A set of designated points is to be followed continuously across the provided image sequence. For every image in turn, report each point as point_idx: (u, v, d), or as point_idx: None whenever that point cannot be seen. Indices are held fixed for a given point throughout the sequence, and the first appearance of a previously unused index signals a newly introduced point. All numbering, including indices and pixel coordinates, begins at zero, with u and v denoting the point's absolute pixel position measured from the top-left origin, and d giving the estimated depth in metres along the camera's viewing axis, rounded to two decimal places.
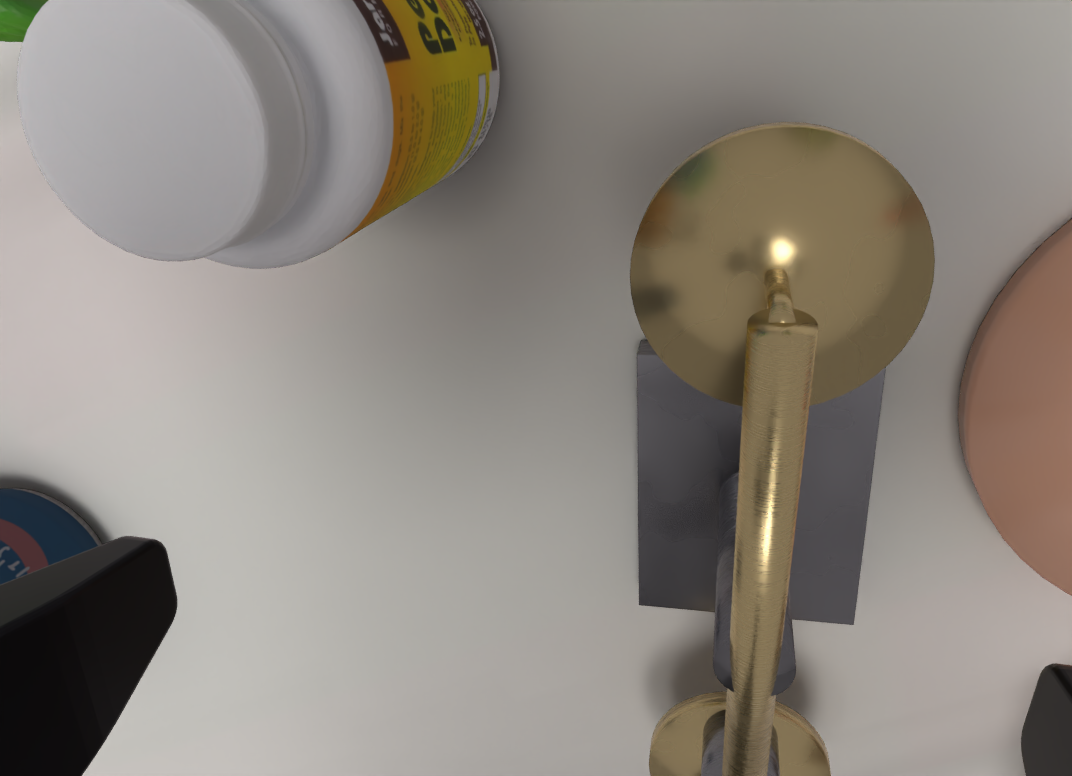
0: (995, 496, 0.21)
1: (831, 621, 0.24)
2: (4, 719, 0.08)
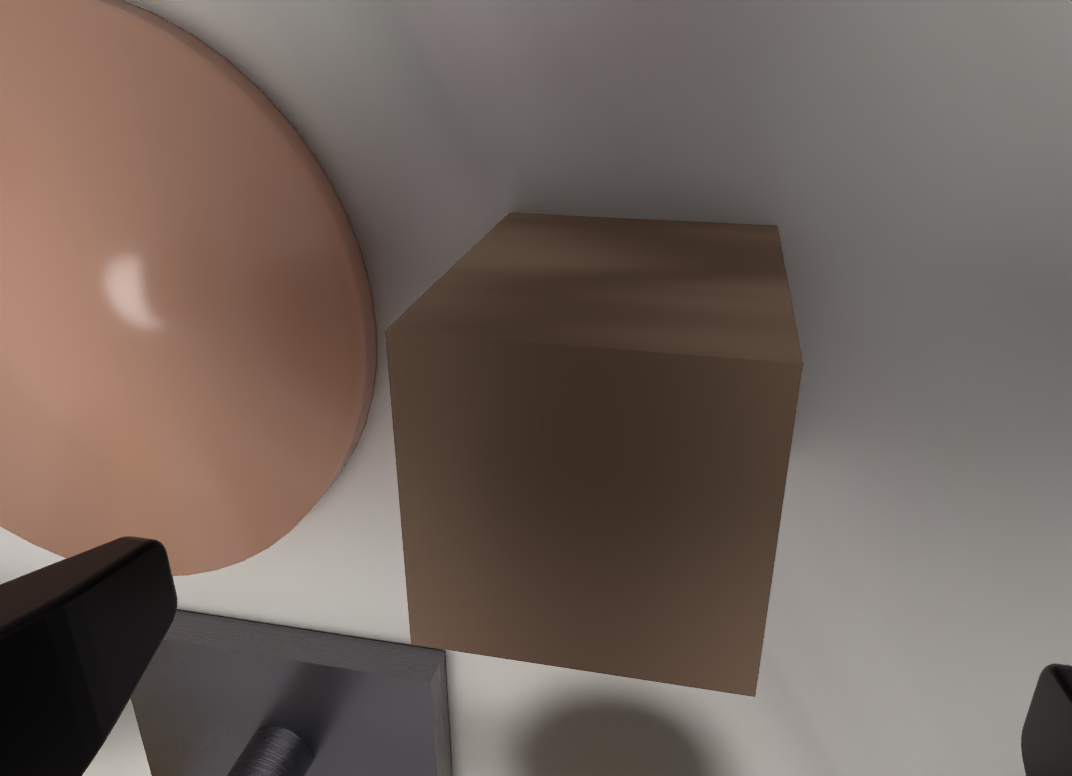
0: (218, 554, 0.18)
1: (433, 699, 0.19)
2: (4, 719, 0.08)
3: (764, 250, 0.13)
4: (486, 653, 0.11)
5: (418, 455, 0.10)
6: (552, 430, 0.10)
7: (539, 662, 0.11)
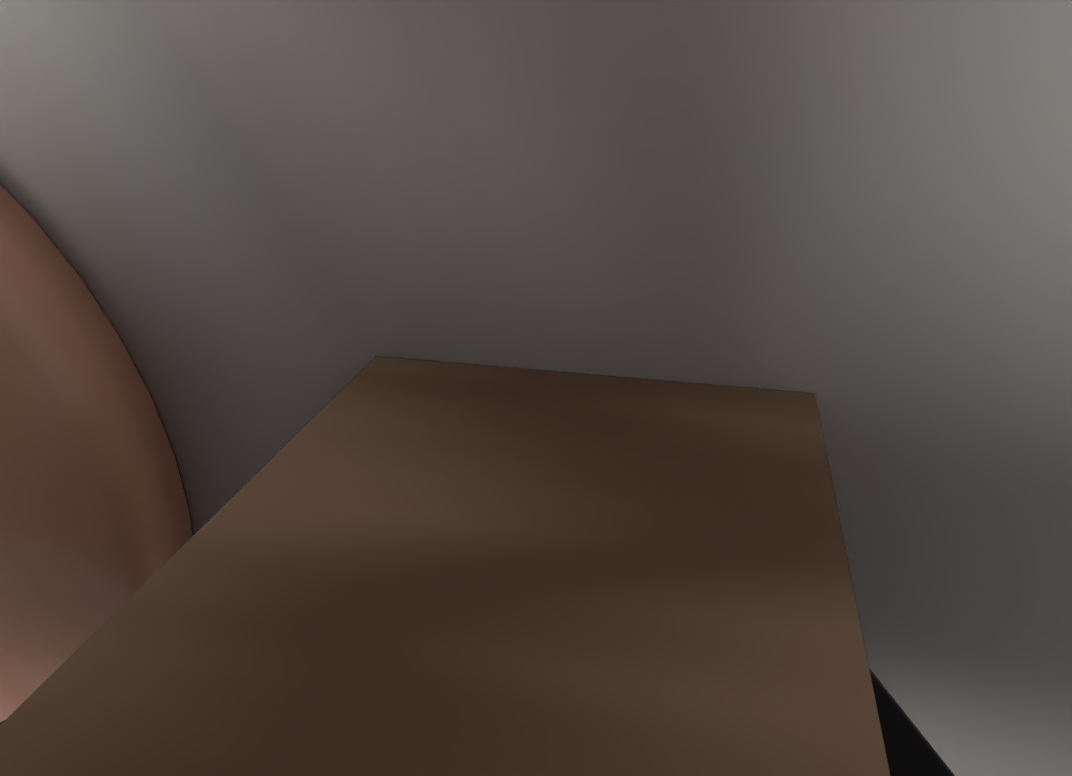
0: None
1: None
2: None
3: (798, 473, 0.07)
4: None
5: None
6: None
7: None
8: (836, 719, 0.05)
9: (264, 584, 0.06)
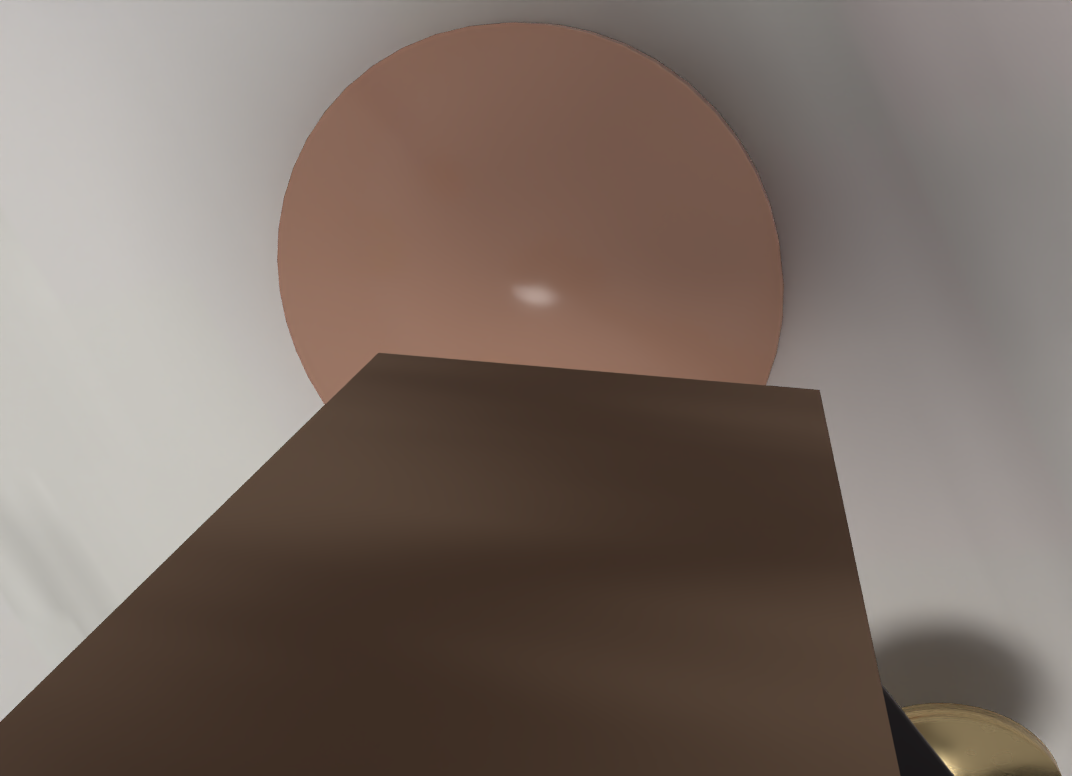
0: None
1: None
2: None
3: (803, 468, 0.07)
4: None
5: None
6: None
7: None
8: (844, 715, 0.04)
9: (267, 579, 0.06)
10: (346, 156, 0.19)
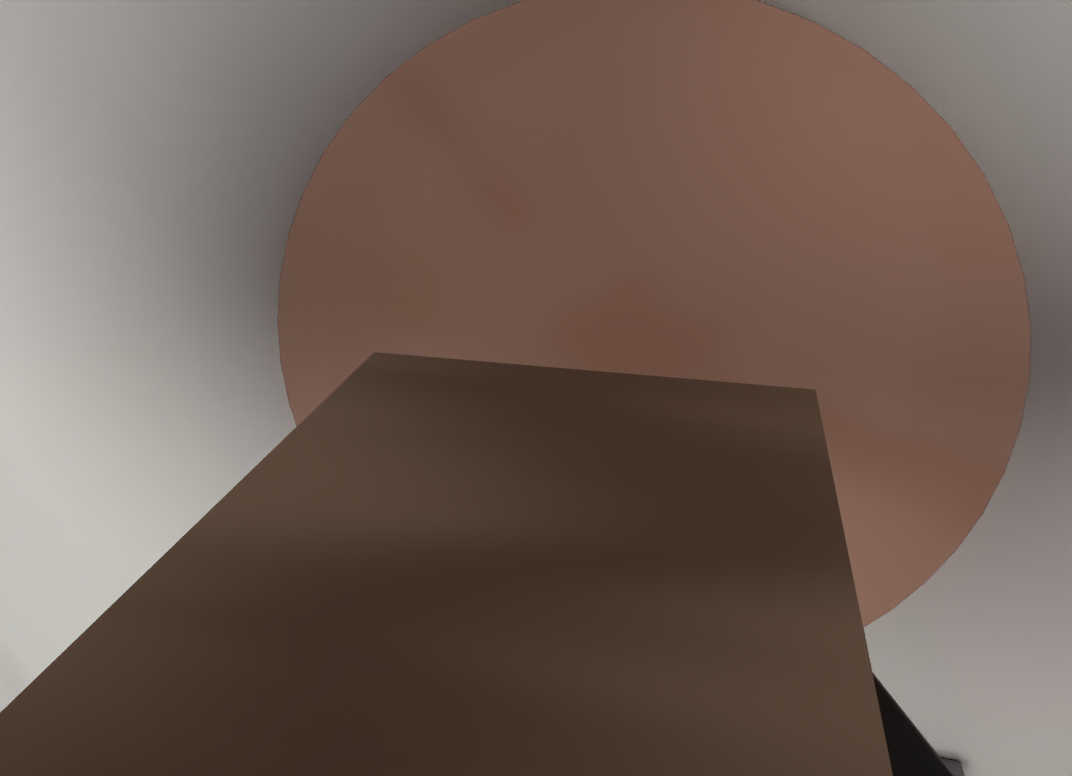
0: None
1: None
2: None
3: (798, 469, 0.07)
4: None
5: None
6: None
7: None
8: (837, 715, 0.04)
9: (260, 579, 0.06)
10: (382, 178, 0.13)
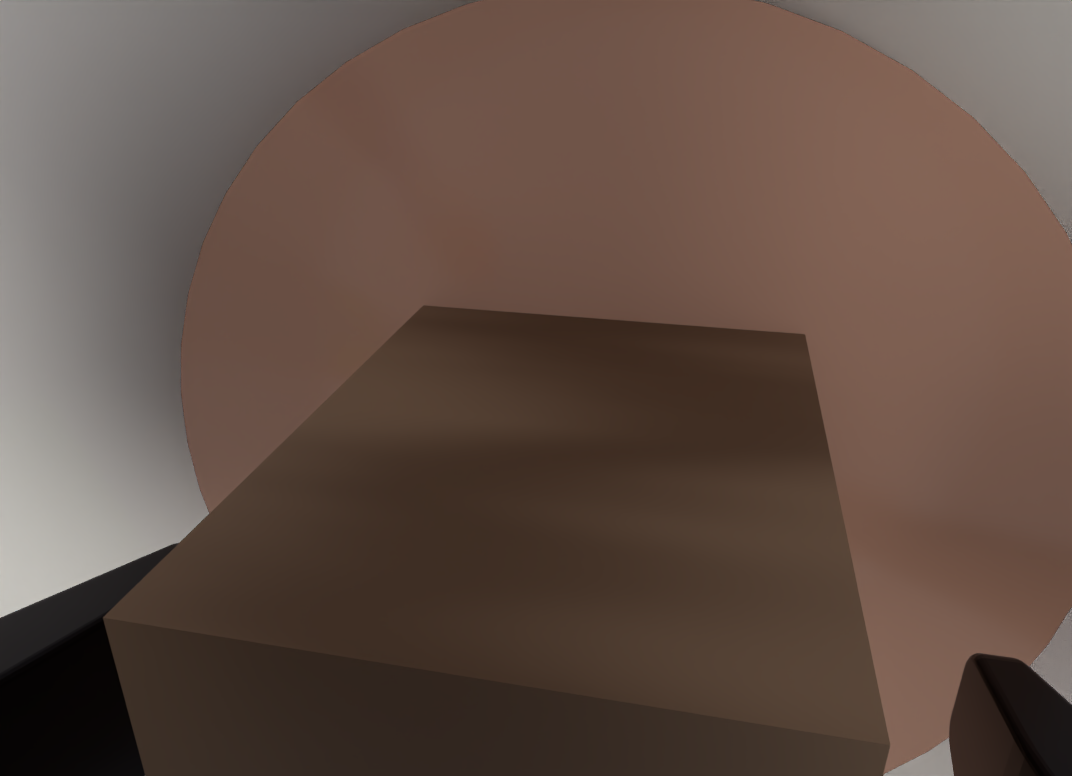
0: None
1: None
2: (66, 731, 0.07)
3: (790, 391, 0.08)
4: None
5: None
6: None
7: None
8: (816, 546, 0.06)
9: (358, 463, 0.07)
10: (298, 226, 0.10)
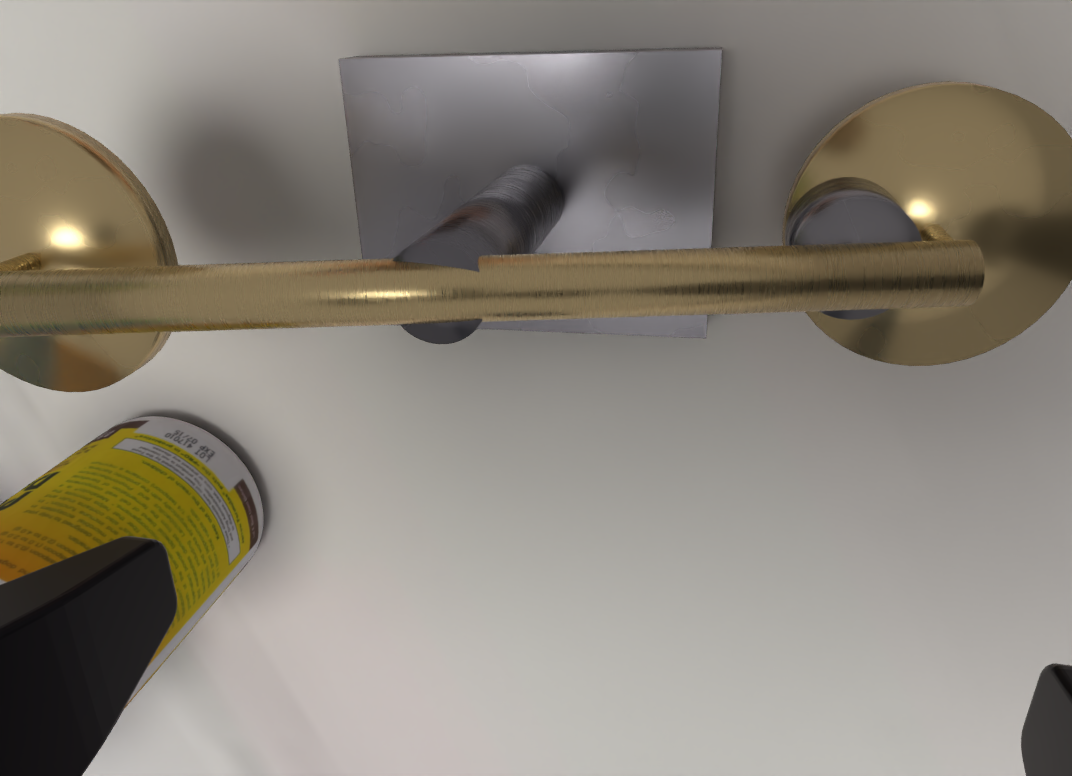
0: None
1: None
2: (4, 720, 0.08)
3: None
4: None
5: None
6: None
7: None
8: None
9: None
10: None
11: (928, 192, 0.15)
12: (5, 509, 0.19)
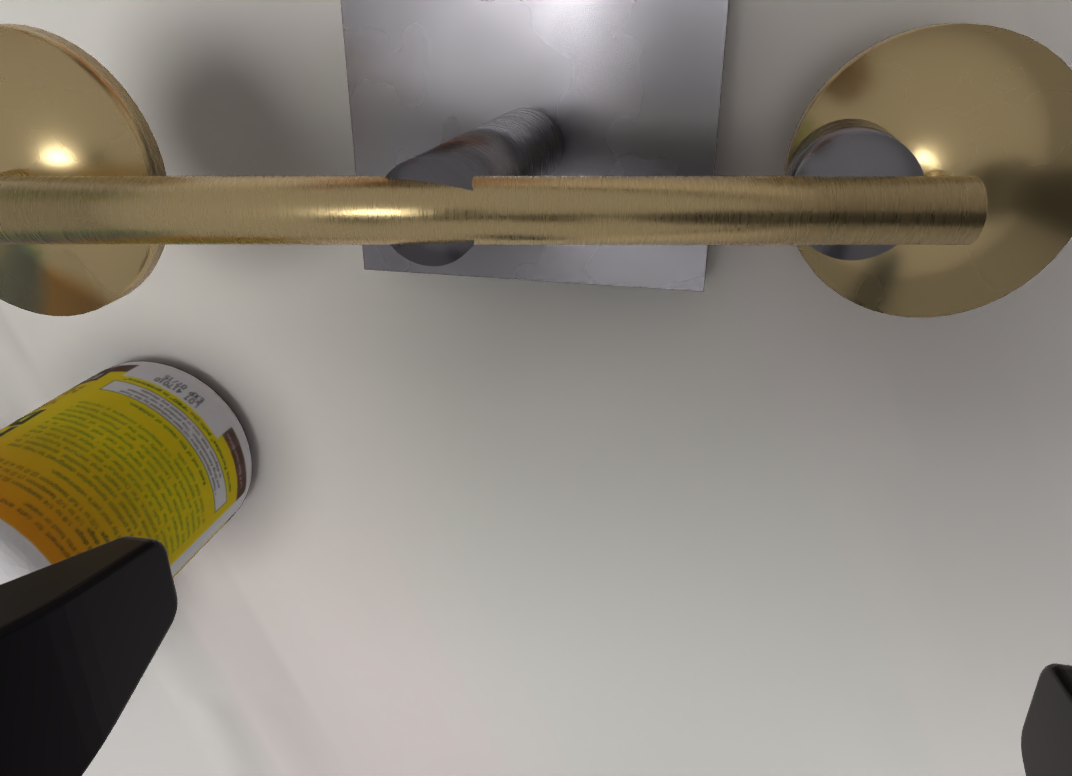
0: None
1: (726, 25, 0.16)
2: (4, 719, 0.08)
3: None
4: None
5: None
6: None
7: None
8: None
9: None
10: None
11: (933, 136, 0.14)
12: None
